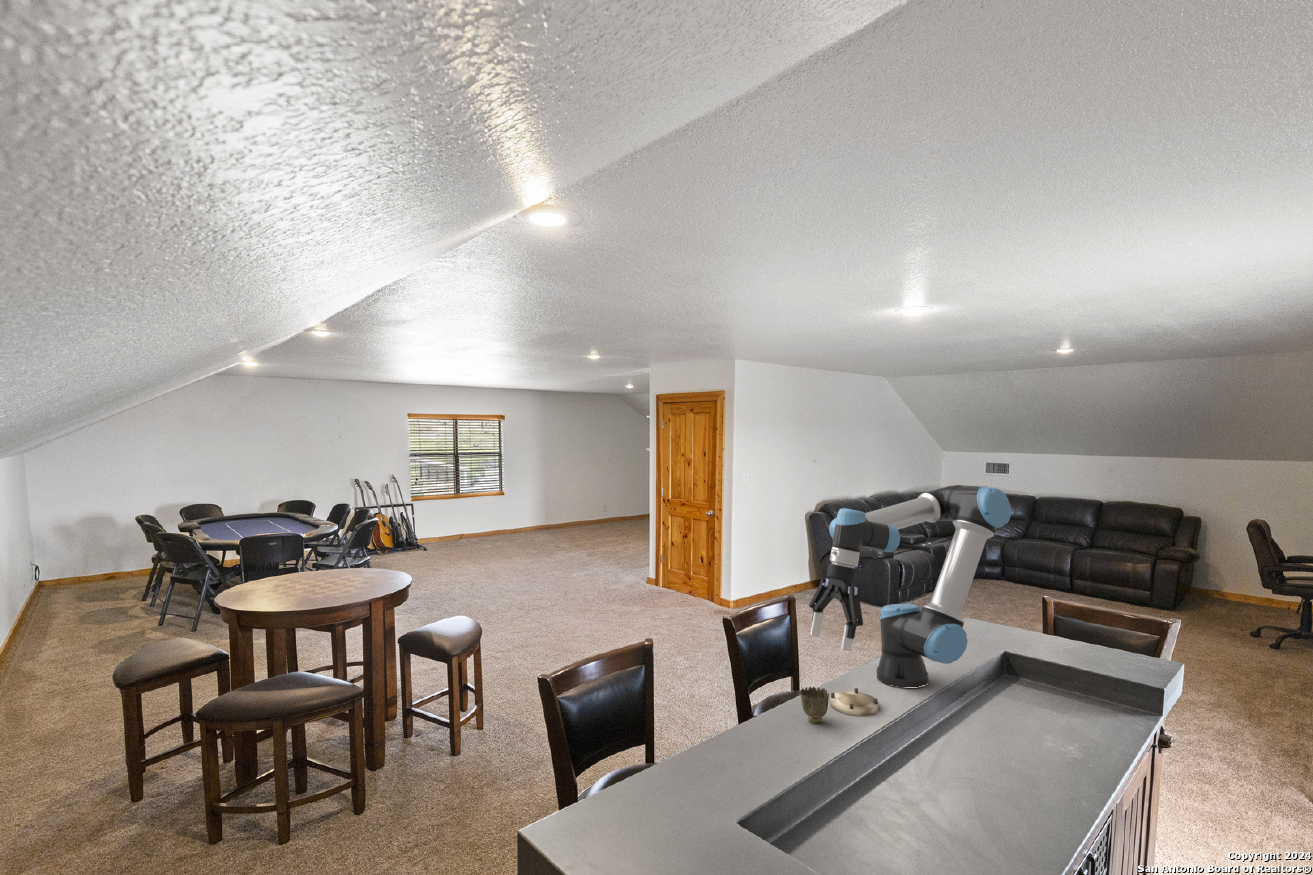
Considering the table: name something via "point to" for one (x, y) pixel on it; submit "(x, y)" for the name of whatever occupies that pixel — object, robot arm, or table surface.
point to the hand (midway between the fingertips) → (829, 643)
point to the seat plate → (854, 703)
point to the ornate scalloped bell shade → (814, 703)
